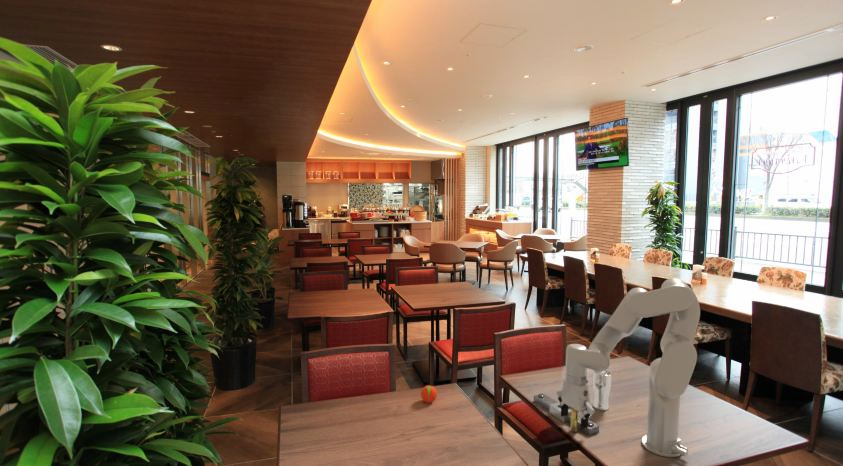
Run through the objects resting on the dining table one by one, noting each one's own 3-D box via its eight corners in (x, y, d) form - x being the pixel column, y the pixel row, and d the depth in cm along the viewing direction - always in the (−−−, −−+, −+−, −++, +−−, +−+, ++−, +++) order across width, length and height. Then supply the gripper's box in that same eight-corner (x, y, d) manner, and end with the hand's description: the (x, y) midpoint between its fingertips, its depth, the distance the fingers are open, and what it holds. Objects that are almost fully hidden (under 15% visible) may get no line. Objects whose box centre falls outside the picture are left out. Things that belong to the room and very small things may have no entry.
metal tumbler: (606, 403, 185) (608, 369, 183) (612, 411, 178) (613, 376, 176) (590, 402, 185) (591, 368, 184) (594, 410, 178) (596, 375, 177)
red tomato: (437, 407, 182) (437, 390, 181) (420, 406, 182) (420, 390, 181) (436, 398, 190) (436, 382, 189) (421, 397, 190) (421, 382, 189)
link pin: (581, 431, 163) (581, 408, 162) (574, 433, 161) (575, 410, 160) (574, 427, 166) (574, 404, 165) (567, 429, 164) (568, 406, 163)
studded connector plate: (601, 430, 163) (602, 421, 163) (586, 436, 159) (587, 427, 159) (545, 397, 190) (545, 389, 189) (530, 401, 186) (531, 393, 186)
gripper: (602, 385, 156) (600, 430, 157) (565, 367, 171) (564, 409, 173) (587, 389, 152) (585, 435, 154) (551, 371, 168) (550, 413, 169)
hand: (574, 421), depth 163 cm, fingers open, 9 cm apart
